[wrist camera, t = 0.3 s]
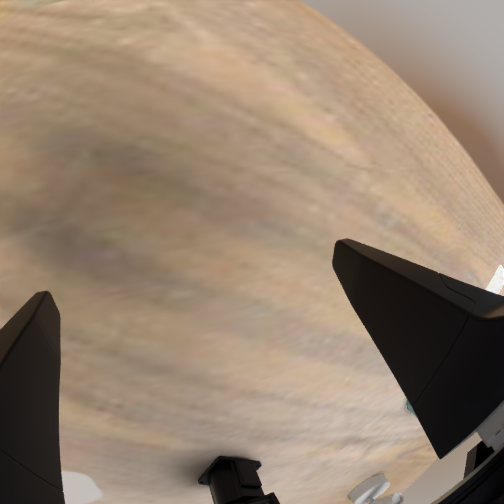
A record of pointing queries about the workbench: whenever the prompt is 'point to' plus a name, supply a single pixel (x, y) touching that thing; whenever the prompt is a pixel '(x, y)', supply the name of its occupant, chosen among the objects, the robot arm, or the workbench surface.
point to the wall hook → (374, 492)
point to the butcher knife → (496, 281)
